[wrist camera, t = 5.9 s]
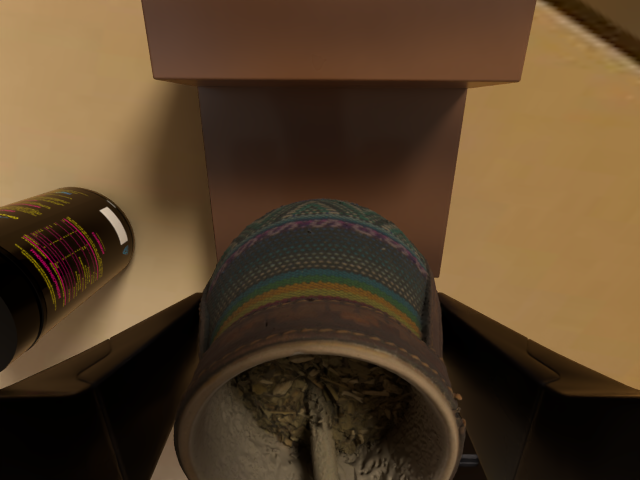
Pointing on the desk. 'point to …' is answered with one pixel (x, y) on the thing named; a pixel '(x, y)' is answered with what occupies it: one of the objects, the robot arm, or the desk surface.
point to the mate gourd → (320, 356)
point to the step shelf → (336, 99)
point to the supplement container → (55, 261)
